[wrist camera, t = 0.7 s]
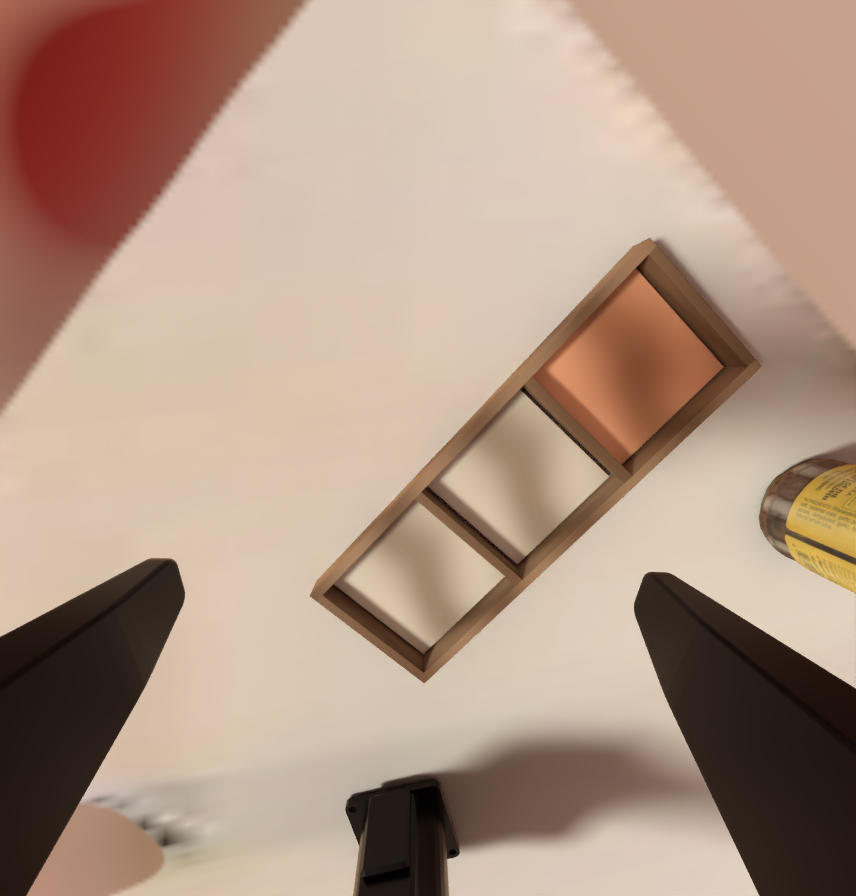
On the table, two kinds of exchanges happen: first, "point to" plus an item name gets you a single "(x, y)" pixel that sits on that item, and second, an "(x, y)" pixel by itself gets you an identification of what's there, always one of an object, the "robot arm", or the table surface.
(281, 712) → the table surface
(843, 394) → the table surface
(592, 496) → the brown compartment tray
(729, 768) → the robot arm
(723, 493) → the table surface
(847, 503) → the sauce bottle
